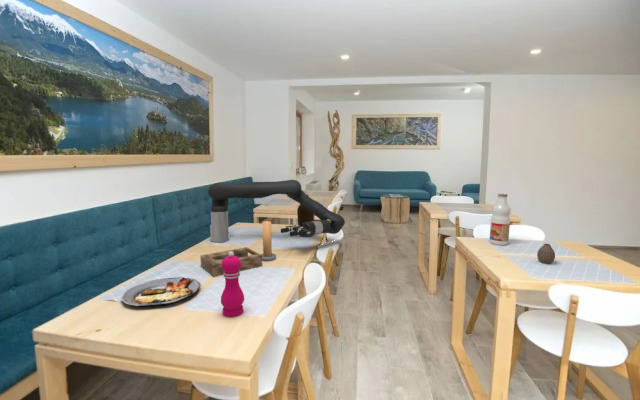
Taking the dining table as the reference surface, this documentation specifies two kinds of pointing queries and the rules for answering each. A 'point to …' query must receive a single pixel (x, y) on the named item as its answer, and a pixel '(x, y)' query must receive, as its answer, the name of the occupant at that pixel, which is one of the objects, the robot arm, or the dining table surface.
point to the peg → (267, 242)
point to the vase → (546, 254)
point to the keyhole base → (215, 259)
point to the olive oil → (304, 215)
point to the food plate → (161, 291)
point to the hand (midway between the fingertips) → (285, 232)
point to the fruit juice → (500, 221)
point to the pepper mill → (232, 287)
